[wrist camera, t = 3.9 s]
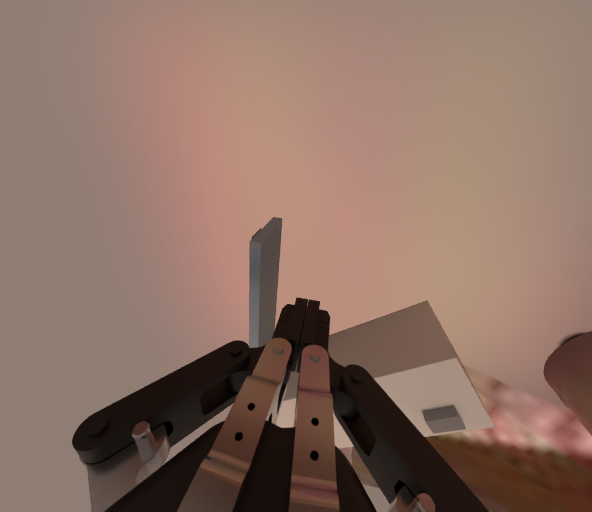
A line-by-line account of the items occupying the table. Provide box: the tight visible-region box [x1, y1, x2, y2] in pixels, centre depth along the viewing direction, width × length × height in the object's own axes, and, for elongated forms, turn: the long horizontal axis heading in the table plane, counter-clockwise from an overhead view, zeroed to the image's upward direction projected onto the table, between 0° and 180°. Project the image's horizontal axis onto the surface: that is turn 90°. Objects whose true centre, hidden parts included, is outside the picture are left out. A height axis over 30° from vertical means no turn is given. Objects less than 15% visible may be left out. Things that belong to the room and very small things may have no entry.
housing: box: [276, 301, 495, 448], centre depth 23 cm, size 19×8×7 cm, turn 124°
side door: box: [249, 217, 282, 348], centre depth 22 cm, size 18×2×6 cm, turn 174°
